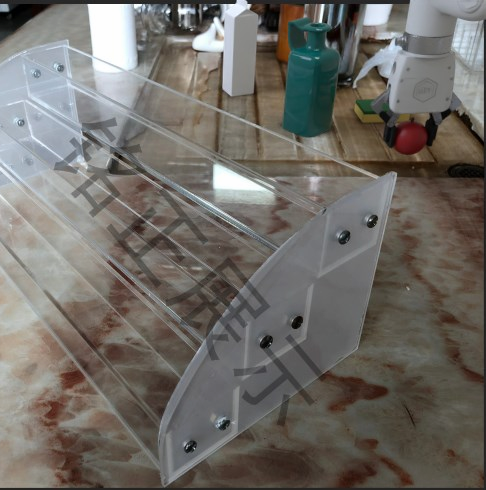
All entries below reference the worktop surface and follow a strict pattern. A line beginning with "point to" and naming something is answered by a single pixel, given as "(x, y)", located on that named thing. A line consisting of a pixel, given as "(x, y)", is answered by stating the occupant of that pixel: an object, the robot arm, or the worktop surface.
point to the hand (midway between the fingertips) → (407, 143)
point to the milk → (239, 49)
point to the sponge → (373, 112)
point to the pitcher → (310, 79)
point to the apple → (410, 137)
